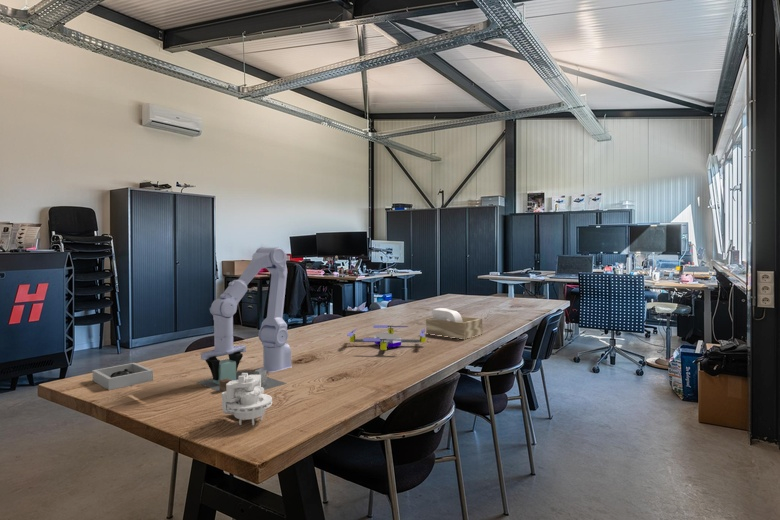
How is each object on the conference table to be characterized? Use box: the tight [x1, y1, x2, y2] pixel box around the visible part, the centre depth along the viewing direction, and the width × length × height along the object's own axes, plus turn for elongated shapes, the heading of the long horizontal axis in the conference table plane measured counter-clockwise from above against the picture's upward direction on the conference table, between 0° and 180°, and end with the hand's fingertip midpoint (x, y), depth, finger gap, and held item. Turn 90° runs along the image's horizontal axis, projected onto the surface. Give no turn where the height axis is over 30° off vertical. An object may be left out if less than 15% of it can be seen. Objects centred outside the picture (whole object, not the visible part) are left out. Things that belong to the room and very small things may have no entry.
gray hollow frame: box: [92, 362, 154, 391], centre depth 149 cm, size 13×16×4 cm
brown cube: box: [219, 379, 232, 392], centre depth 136 cm, size 3×3×3 cm
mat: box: [196, 370, 288, 394], centre depth 143 cm, size 18×24×1 cm
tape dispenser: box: [431, 307, 463, 323], centre depth 222 cm, size 16×10×13 cm, turn 38°
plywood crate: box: [425, 315, 483, 339], centre depth 222 cm, size 17×22×8 cm
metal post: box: [254, 368, 268, 387], centre depth 140 cm, size 3×3×5 cm
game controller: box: [110, 369, 132, 378], centre depth 149 cm, size 10×5×6 cm
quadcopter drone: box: [347, 324, 427, 351], centre depth 198 cm, size 34×33×5 cm
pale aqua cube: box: [213, 358, 237, 385], centre depth 144 cm, size 5×5×7 cm
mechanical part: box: [221, 373, 273, 426], centre depth 113 cm, size 11×12×12 cm
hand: (224, 377), depth 144 cm, fingers open, 5 cm apart
